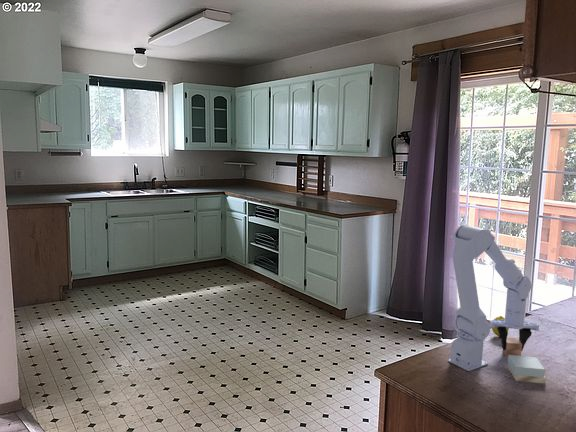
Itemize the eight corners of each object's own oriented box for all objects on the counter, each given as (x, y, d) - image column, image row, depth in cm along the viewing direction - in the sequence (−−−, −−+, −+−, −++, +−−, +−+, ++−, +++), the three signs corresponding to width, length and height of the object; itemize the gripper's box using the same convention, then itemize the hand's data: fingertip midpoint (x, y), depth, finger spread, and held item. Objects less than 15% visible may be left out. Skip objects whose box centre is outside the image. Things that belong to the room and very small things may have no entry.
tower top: (514, 374, 137) (515, 366, 137) (507, 362, 145) (508, 354, 145) (544, 377, 136) (544, 369, 135) (535, 365, 143) (536, 357, 143)
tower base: (515, 382, 137) (516, 375, 137) (508, 370, 145) (508, 362, 145) (545, 385, 136) (545, 377, 136) (535, 372, 144) (536, 364, 143)
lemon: (510, 340, 165) (512, 319, 164) (494, 340, 166) (496, 318, 164) (503, 334, 171) (505, 313, 170) (488, 334, 171) (490, 313, 170)
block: (506, 357, 153) (507, 342, 152) (502, 351, 157) (503, 337, 156) (520, 358, 152) (522, 343, 151) (516, 352, 156) (517, 338, 155)
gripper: (494, 312, 149) (491, 352, 151) (543, 315, 147) (539, 356, 149) (489, 305, 156) (486, 343, 158) (536, 308, 154) (532, 347, 156)
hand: (511, 349), depth 154 cm, fingers closed on block, 4 cm apart
